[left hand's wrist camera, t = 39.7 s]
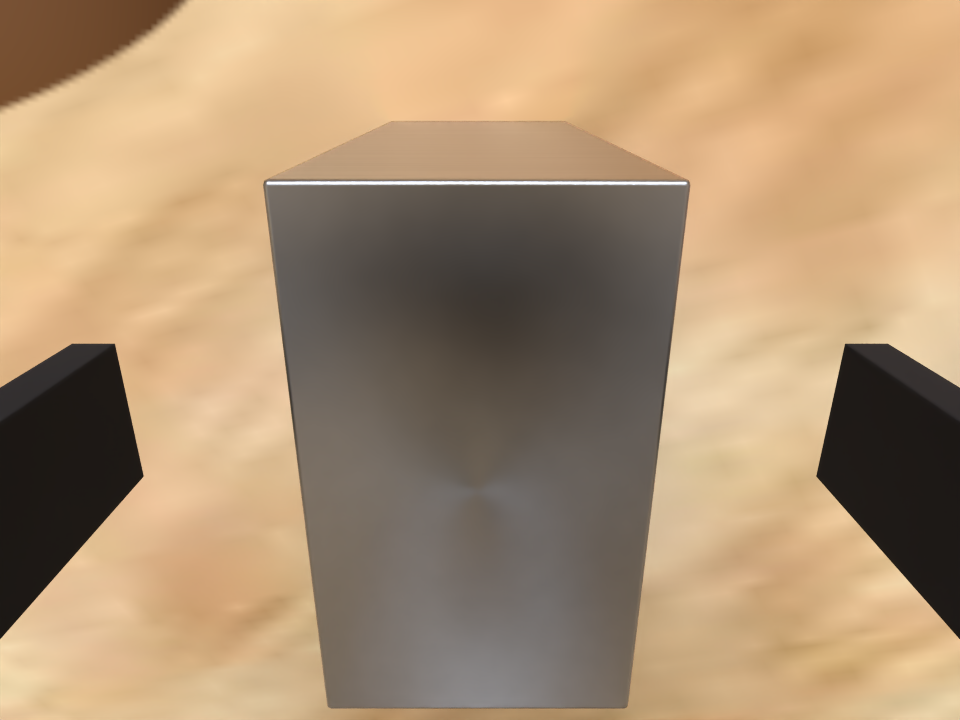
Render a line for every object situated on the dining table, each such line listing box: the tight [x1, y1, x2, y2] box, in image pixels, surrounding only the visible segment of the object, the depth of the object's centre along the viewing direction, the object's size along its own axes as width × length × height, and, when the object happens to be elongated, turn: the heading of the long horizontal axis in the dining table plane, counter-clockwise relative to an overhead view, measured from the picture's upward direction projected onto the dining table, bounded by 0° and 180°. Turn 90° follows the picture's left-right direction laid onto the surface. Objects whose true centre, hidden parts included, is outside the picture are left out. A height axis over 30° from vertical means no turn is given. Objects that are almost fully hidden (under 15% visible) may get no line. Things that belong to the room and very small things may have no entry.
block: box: [263, 121, 690, 708], centre depth 15 cm, size 8×5×12 cm, turn 0°
